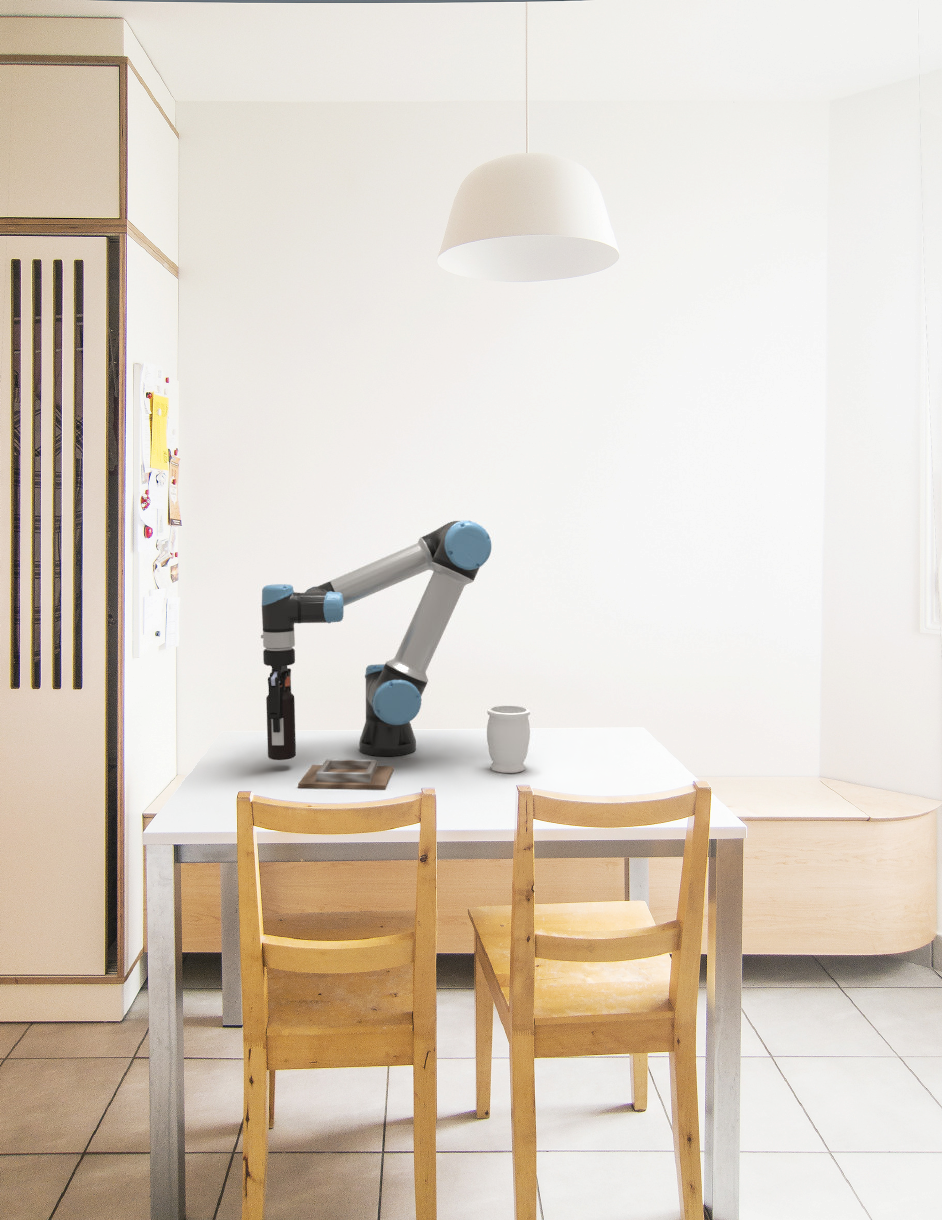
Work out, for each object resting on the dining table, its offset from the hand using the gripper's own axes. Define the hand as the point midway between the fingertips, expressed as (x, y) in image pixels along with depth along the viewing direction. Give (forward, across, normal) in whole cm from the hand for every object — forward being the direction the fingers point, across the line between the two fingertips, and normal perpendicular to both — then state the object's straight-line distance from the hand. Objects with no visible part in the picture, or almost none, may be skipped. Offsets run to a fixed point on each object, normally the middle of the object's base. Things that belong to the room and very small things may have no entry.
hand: (281, 741), depth 227 cm
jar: (+8, -3, +56) cm, 56 cm away
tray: (+7, +8, +18) cm, 21 cm away
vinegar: (+4, 0, 0) cm, 4 cm away
